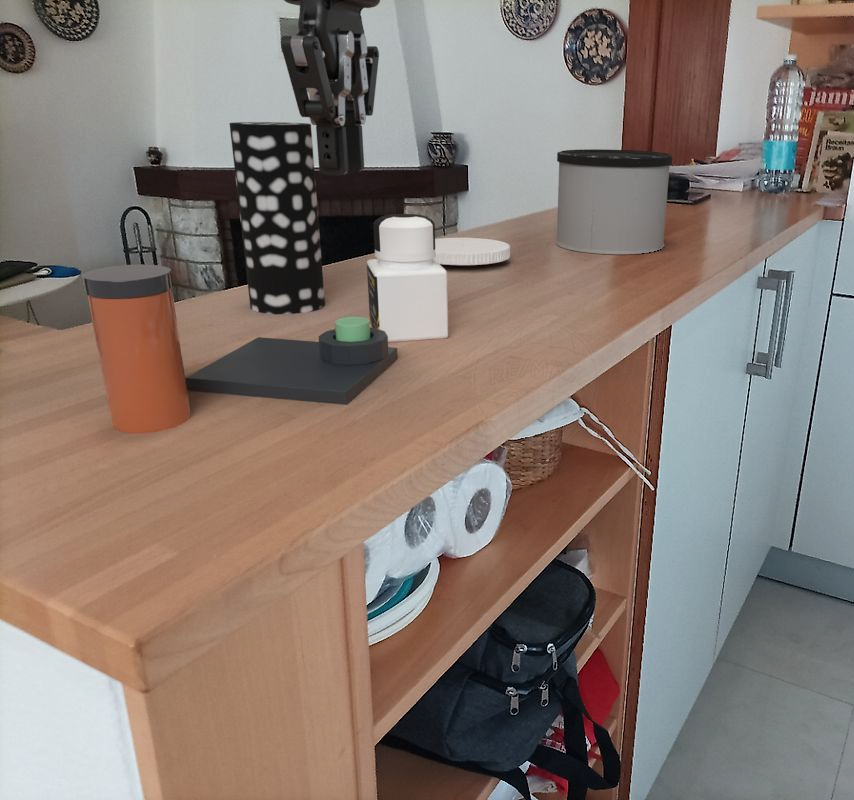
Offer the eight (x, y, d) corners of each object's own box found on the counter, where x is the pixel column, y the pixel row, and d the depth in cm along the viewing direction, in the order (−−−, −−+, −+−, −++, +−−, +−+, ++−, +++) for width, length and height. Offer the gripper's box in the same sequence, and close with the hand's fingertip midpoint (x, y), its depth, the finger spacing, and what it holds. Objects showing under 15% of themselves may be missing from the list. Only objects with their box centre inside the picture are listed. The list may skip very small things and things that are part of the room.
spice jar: (92, 431, 56) (62, 278, 52) (142, 403, 62) (117, 262, 58) (163, 438, 56) (137, 283, 52) (207, 409, 61) (187, 266, 57)
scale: (186, 391, 64) (181, 356, 63) (259, 348, 75) (256, 318, 74) (347, 405, 62) (344, 370, 61) (397, 359, 73) (396, 328, 72)
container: (669, 239, 140) (676, 151, 135) (660, 258, 123) (668, 158, 118) (566, 233, 144) (569, 147, 139) (544, 250, 127) (546, 154, 121)
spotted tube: (338, 306, 91) (325, 124, 84) (273, 318, 85) (253, 125, 78) (301, 293, 96) (285, 122, 89) (237, 304, 91) (215, 122, 83)
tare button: (330, 343, 69) (329, 324, 68) (344, 333, 72) (343, 315, 71) (363, 345, 68) (361, 326, 68) (375, 336, 71) (374, 317, 70)
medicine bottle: (369, 325, 84) (363, 211, 79) (435, 321, 86) (432, 210, 82) (378, 344, 78) (372, 222, 73) (449, 339, 80) (446, 220, 75)
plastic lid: (475, 276, 107) (475, 258, 107) (396, 264, 114) (395, 247, 113) (527, 260, 119) (527, 243, 118) (452, 250, 125) (451, 234, 124)
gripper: (319, -49, 65) (334, 165, 72) (230, -86, 53) (258, 179, 59) (405, -50, 64) (412, 168, 71) (335, -88, 51) (352, 183, 58)
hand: (342, 172), depth 65 cm, fingers open, 3 cm apart
